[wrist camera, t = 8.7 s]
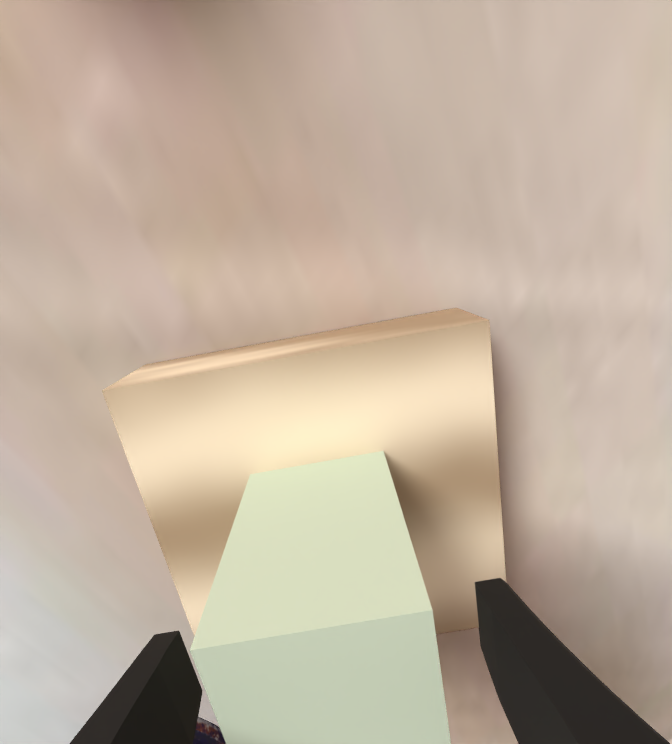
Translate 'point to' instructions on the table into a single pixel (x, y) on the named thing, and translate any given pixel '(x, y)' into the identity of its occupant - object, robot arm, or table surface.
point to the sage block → (321, 615)
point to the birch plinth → (326, 442)
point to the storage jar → (207, 733)
